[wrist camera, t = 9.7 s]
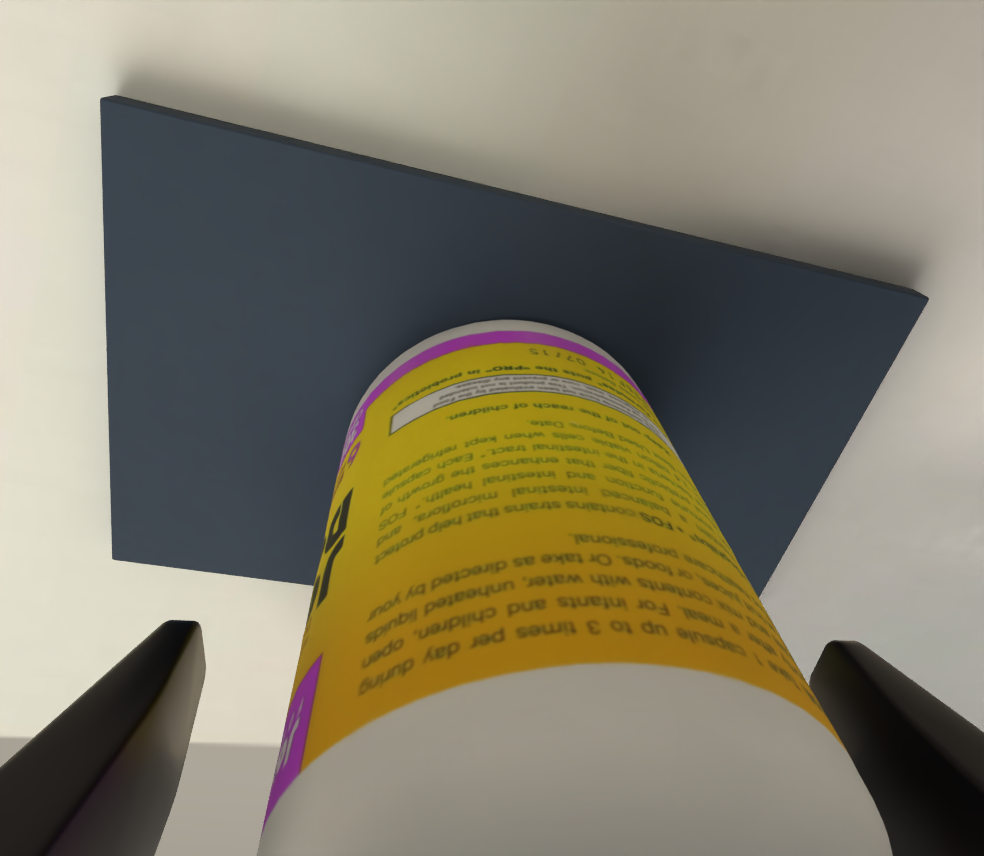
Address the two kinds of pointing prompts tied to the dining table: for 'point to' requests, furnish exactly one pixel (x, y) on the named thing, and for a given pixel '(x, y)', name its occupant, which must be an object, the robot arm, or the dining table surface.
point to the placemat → (430, 335)
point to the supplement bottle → (542, 636)
